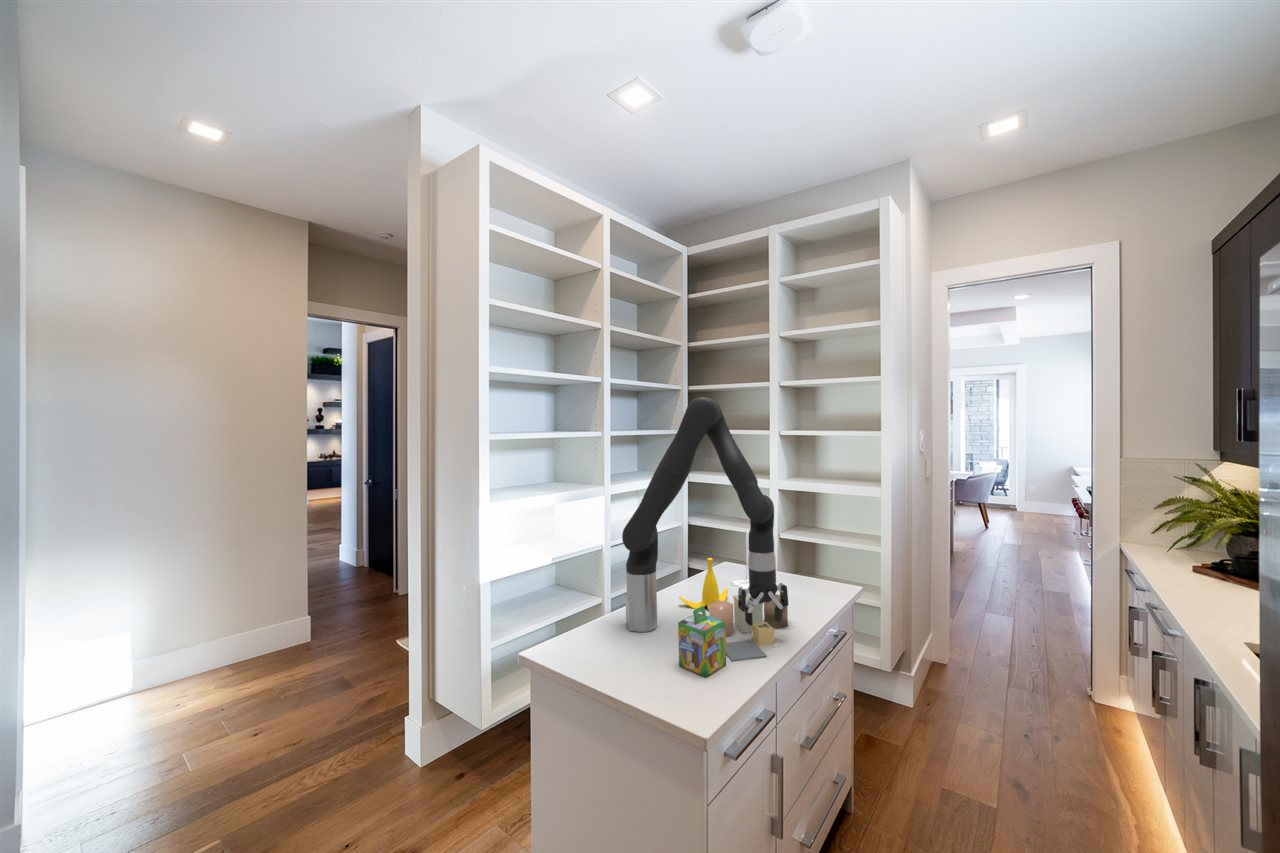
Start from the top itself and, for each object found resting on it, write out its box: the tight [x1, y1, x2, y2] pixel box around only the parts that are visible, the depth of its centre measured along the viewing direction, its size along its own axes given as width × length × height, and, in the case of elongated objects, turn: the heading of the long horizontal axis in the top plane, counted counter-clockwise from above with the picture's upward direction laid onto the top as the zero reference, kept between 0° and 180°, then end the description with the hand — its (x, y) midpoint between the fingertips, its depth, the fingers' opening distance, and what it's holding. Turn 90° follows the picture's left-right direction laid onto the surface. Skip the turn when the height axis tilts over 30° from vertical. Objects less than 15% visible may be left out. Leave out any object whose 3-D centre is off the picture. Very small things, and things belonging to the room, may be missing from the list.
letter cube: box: [751, 621, 775, 647], centre depth 147 cm, size 4×4×5 cm
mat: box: [726, 639, 768, 662], centre depth 141 cm, size 10×10×1 cm
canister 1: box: [708, 600, 735, 638], centre depth 153 cm, size 7×7×8 cm
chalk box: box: [677, 606, 727, 678], centre depth 133 cm, size 9×9×15 cm
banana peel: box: [678, 557, 729, 611], centre depth 171 cm, size 17×19×17 cm
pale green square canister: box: [732, 593, 764, 633], centre depth 156 cm, size 7×7×9 cm
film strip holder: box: [731, 528, 750, 589], centre depth 193 cm, size 14×14×20 cm
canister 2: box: [763, 593, 789, 630], centre depth 158 cm, size 7×7×8 cm
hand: (764, 622), depth 146 cm, fingers open, 8 cm apart
